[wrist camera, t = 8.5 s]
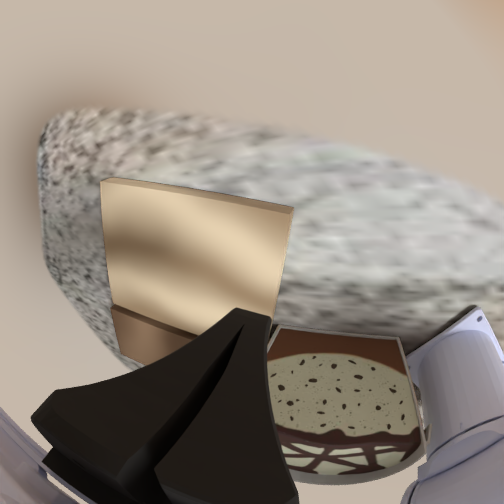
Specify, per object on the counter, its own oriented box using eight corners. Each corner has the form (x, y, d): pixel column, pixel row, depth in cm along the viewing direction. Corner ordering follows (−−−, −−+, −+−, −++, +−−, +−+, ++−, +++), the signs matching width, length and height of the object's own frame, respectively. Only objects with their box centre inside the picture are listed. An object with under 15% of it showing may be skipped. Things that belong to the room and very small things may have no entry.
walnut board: (273, 349, 23) (268, 363, 21) (262, 392, 26) (257, 405, 24) (120, 298, 26) (110, 308, 24) (129, 344, 29) (121, 353, 27)
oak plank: (268, 342, 22) (263, 354, 21) (122, 294, 25) (113, 302, 24) (294, 207, 17) (290, 214, 16) (112, 177, 20) (100, 181, 19)
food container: (259, 373, 25) (221, 468, 16) (259, 321, 22) (209, 428, 13) (394, 389, 21) (395, 489, 13) (416, 337, 19) (434, 452, 10)
